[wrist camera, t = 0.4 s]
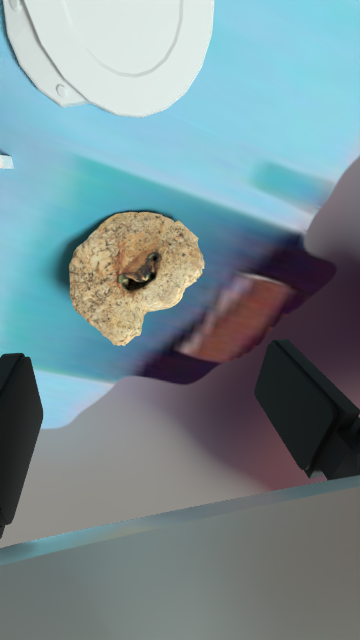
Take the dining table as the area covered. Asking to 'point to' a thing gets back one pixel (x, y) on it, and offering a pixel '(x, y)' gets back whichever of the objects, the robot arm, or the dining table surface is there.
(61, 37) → the lid
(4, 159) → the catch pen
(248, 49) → the dining table surface
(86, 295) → the beige piece
